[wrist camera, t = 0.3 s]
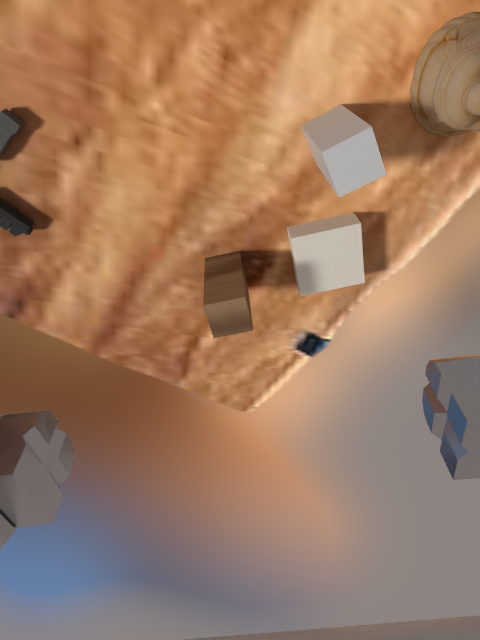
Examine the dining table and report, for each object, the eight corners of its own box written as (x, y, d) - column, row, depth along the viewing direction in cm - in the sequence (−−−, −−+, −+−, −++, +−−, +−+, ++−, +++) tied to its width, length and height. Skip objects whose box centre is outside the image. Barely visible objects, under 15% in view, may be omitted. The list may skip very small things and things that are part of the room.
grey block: (300, 125, 51) (321, 152, 41) (340, 104, 50) (371, 126, 40) (316, 164, 54) (338, 197, 44) (354, 144, 53) (386, 174, 43)
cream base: (286, 226, 59) (291, 238, 56) (352, 211, 58) (360, 223, 55) (296, 281, 64) (300, 296, 61) (356, 268, 63) (364, 282, 60)
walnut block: (204, 258, 61) (203, 305, 51) (239, 250, 60) (245, 296, 50) (213, 288, 63) (213, 338, 54) (246, 281, 63) (253, 330, 53)
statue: (429, 22, 37) (563, 12, 35) (418, 15, 48) (519, 7, 45) (407, 166, 44) (518, 166, 42) (402, 132, 55) (489, 130, 53)
